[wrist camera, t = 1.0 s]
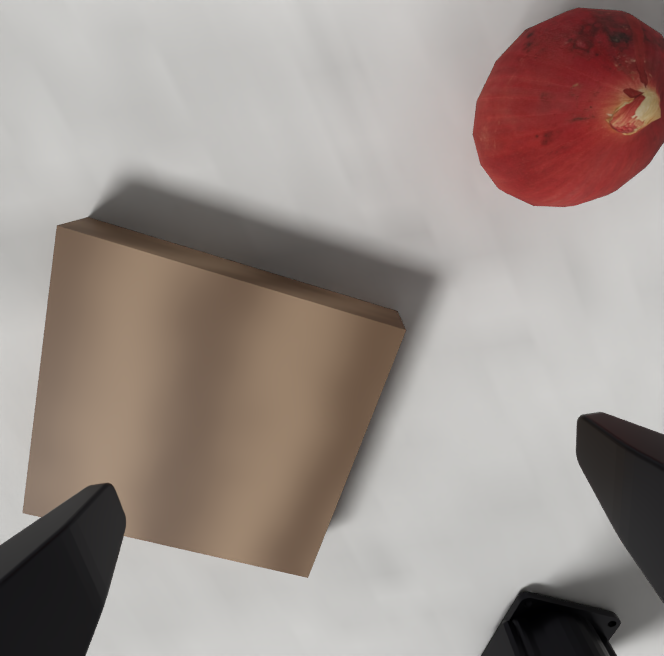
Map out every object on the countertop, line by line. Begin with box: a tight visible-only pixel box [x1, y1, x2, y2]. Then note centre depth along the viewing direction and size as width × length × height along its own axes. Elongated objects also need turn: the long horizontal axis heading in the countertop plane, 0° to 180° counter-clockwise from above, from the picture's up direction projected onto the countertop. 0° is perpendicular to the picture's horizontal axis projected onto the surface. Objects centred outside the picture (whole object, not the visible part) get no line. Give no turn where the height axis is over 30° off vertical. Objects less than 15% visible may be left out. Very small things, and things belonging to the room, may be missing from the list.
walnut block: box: [23, 217, 406, 578], centre depth 22 cm, size 14×14×3 cm
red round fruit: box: [473, 8, 664, 207], centre depth 15 cm, size 6×6×8 cm
